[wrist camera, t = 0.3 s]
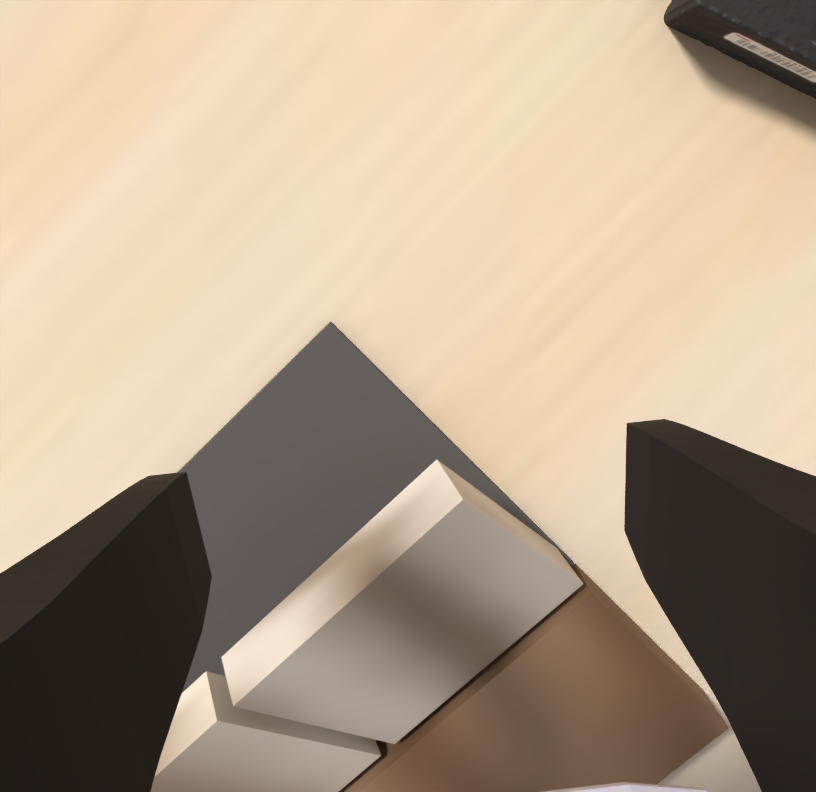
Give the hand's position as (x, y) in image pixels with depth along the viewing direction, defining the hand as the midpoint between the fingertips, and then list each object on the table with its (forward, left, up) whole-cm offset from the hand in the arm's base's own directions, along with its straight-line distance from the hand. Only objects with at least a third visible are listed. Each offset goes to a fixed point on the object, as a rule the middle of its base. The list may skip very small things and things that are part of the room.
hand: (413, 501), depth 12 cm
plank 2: (-4, -5, -8) cm, 10 cm away
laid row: (-9, -12, -10) cm, 18 cm away
